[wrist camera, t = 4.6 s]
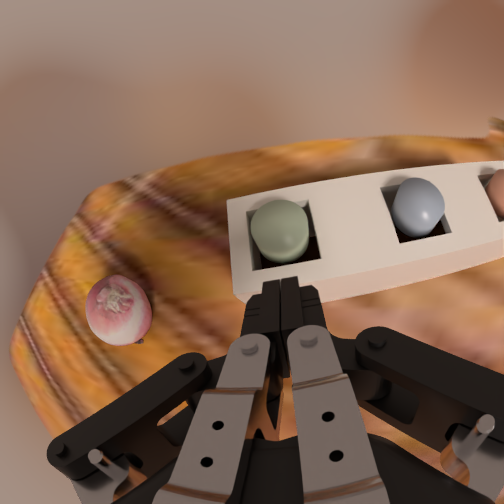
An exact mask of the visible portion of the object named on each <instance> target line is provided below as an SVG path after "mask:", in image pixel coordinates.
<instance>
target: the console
mask: <svg viewBox="0 0 504 504" xmlns="http://www.w3.org/2000/svg"><path fill="white" fill-rule="evenodd" d="M498 169H504V161H488V162H472V163H458V164H446V165H435V166H425V167H416V168H407V169H399V170H391V171H384V172H376V173H369V174H362V175H356V176H349V177H343V178H337V179H331V180H325V181H319V182H313V183H308V184H302V185H297V186H291V187H286V188H281V189H276V190H271V191H266V192H261V193H257V194H252V195H247V196H243V197H238V198H234V199H229V200H227V213H228V228H229V242H230V256H231V269H232V282H233V294H234V295H235V296H236V297H237V298H238V299H240V300H241V301H242V302H243V303H245V304H246V303H247V301H248V300H249V299H250V298H251V296H252V295H255V294H261V293H262V285H263V282H265V281H271V280H277V279H280V281H281V279H282V278H288V277H293V276H298V281H299V286H300V287H302V286H307V285H312V286H314V287H315V288H316V289H317V290H318V292H319V296H320V301H321V303H323V302H328V301H333V300H338V299H344V298H349V297H353V296H358V295H363V294H368V293H372V292H377V291H381V290H386V289H390V288H395V287H399V286H403V285H407V284H411V283H415V282H419V281H423V280H427V279H431V278H435V277H438V276H442V275H446V274H449V273H453V272H457V271H460V270H464V269H467V268H470V267H474V266H477V265H480V264H483V263H487V262H490V261H493V260H496V259H499V258H502V257H504V219H502V218H500V217H498V216H497V215H496V214H495V212H494V210H493V207H492V205H491V203H490V201H489V199H488V196H487V194H486V192H485V187H486V186H487V184H488V183H489V181H490V180H491V178H492V177H493V175H494V174H495V173H496V171H497V170H498ZM414 177H416V178H422V179H425V180H427V181H429V182H431V183H432V184H433V185H435V186H436V187H437V188H438V190H439V191H440V192H441V194H442V196H443V199H444V202H445V210H444V213H443V216H442V217H441V218H440V220H441V222H442V225H443V227H444V230H445V233H446V234H444V235H439V236H434V237H429V238H425V239H420V240H415V241H410V242H405V243H399V240H398V237H397V234H396V231H395V228H394V225H393V219H392V215H391V208H392V205H393V202H394V200H395V197H396V195H397V192H398V189H399V187H400V185H401V183H402V182H403V181H405V180H406V179H409V178H414ZM274 200H288V201H292V202H294V203H296V204H297V205H299V206H300V207H301V208H302V209H303V210H304V212H305V214H306V216H307V220H308V229H309V237H313V236H316V239H317V244H318V249H319V253H320V258H321V259H318V260H312V261H307V262H301V263H296V264H290V265H285V266H279V267H273V268H268V269H262V265H261V257H260V250H259V248H258V246H257V244H256V242H255V240H254V238H253V236H252V234H251V220H252V218H253V216H254V214H255V212H256V211H257V210H258V209H259V208H260V207H261V206H263V205H264V204H266V203H268V202H270V201H274Z"/></svg>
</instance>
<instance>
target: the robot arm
mask: <svg viewBox="0 0 504 504" xmlns="http://www.w3.org/2000/svg"><path fill="white" fill-rule="evenodd" d="M290 371H291V375H292V382H293V385H292V392H293V400H294V408H295V417H296V425H297V434H298V435H297V436H294V437H291V438H288V439H284V440H281V441H279V431H280V423H281V415H282V406H283V397H284V393H283V378H288V377H290ZM184 401H186V403H187V404H188V406H187V407H185V408H184V409H183V410H182V411H180V412H179V413H178V414H176V415H175V416H174V417H172V418H171V419H170V420H168V421H167V422H166V423H164V424H163V425H160V426H157V423H158V421H159V420H160V419H161V418H162V417H164V416H165V415H166V414H168V413H169V412H170V411H172V410H173V409H174V408H176V407H177V406H178V405H180V404H181V403H182V402H184ZM358 405H359V406H360V407H362V408H364V409H365V410H367V411H368V412H370V413H372V414H373V415H375V416H376V417H378V418H380V419H381V420H383V421H385V422H386V423H388V424H390V425H391V426H393V427H395V428H397V429H398V430H400V431H402V432H404V433H405V434H407V435H409V436H411V437H412V438H414V439H416V440H418V441H420V442H421V443H423V444H425V445H427V446H429V447H431V448H433V449H434V450H436V451H438V452H440V453H441V456H440V463H441V466H442V468H443V470H444V471H445V472H447V473H448V474H449V475H450V476H451V477H452V478H451V477H449V476H447V475H446V474H444V473H442V472H440V471H439V470H437V469H435V468H434V467H432V466H430V465H428V464H427V463H425V462H424V461H422V460H420V459H419V458H417V457H415V456H414V455H412V454H411V453H409V452H407V451H406V450H404V449H403V448H401V447H400V446H398V445H397V444H395V443H394V442H392V441H390V440H388V439H386V438H384V437H381V436H378V435H374V434H369V433H367V432H366V429H365V425H364V422H363V419H362V416H361V413H360V410H359V406H358ZM47 459H48V461H49V463H50V464H51V465H52V466H54V467H55V468H56V469H58V470H59V471H60V472H62V473H63V474H64V475H65V476H66V477H67V478H69V479H70V480H71V482H72V484H73V486H74V488H75V490H76V493H77V495H78V497H79V499H80V501H81V503H82V504H495V503H494V502H495V500H496V498H497V497H498V495H499V493H500V491H501V490H502V488H503V486H504V375H503V374H501V373H498V372H495V371H493V370H490V369H488V368H485V367H483V366H480V365H478V364H475V363H473V362H470V361H468V360H465V359H463V358H460V357H458V356H455V355H453V354H450V353H448V352H445V351H443V350H440V349H438V348H435V347H433V346H430V345H428V344H426V343H423V342H421V341H418V340H416V339H413V338H411V337H409V336H406V335H404V334H401V333H399V332H397V331H394V330H392V329H389V328H386V327H380V326H378V327H371V328H367V329H365V330H363V331H362V332H360V333H359V334H358V336H357V337H356V339H342V338H338V337H336V336H334V335H332V334H331V333H330V332H329V331H328V330H327V327H326V322H325V318H324V313H323V309H322V305H321V301H320V296H319V292H318V290H317V289H316V288H315V287H314V286H312V285H307V286H302V287H300V286H299V281H298V276H293V277H288V278H282V279H281V281H280V279H277V280H271V281H265V282H263V285H262V293H261V294H255V295H252V296H251V298H250V299H249V300H248V301H247V303H246V309H245V314H244V319H243V324H242V330H241V335H240V338H238V339H236V340H235V341H234V342H233V343H232V344H231V345H230V348H229V350H228V353H227V355H225V356H222V357H219V358H216V359H213V360H210V361H207V360H206V358H205V356H203V355H202V354H200V353H195V352H193V353H186V354H183V355H181V356H179V357H177V358H176V359H174V360H173V361H172V362H170V363H169V364H167V365H166V366H164V367H163V368H162V369H160V370H159V371H157V372H156V373H154V374H153V375H152V376H150V377H149V378H147V379H146V380H144V381H143V382H141V383H140V384H139V385H137V386H136V387H134V388H133V389H131V390H130V391H128V392H127V393H125V394H124V395H122V396H121V397H119V398H118V399H116V400H115V401H113V402H112V403H110V404H109V405H107V406H106V407H104V408H102V409H101V410H99V411H98V412H96V413H95V414H93V415H92V416H90V417H88V418H87V419H85V420H84V421H82V422H81V423H79V424H77V425H76V426H74V427H73V428H71V429H69V430H68V431H66V432H64V433H63V434H61V435H59V436H58V437H56V438H55V439H54V440H52V442H51V443H50V444H49V446H48V449H47Z"/></svg>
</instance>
